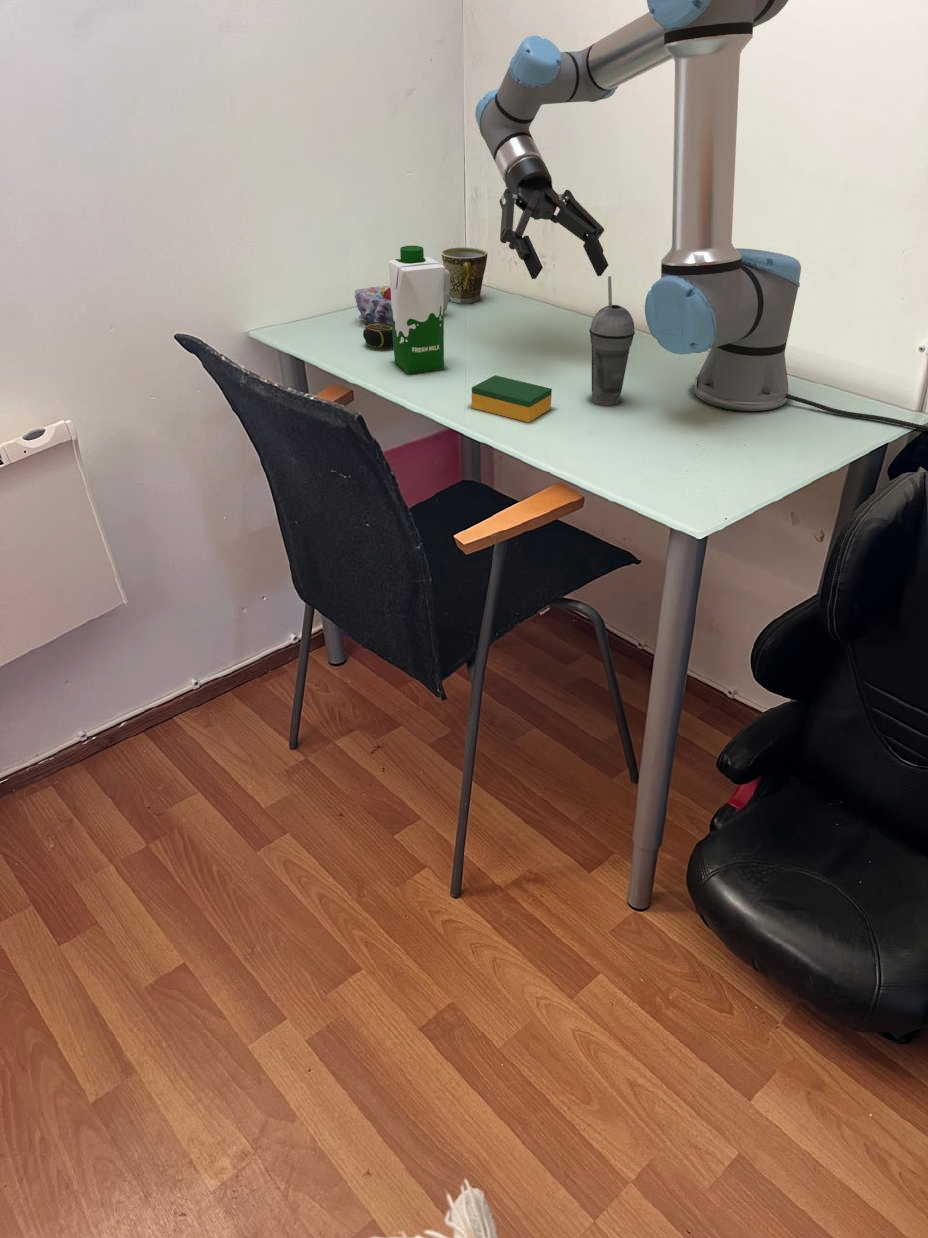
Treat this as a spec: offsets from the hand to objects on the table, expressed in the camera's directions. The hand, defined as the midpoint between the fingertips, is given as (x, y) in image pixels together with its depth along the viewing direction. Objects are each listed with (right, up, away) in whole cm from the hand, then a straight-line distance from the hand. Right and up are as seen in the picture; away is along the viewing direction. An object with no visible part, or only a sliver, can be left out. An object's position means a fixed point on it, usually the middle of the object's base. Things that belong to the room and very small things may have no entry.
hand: (571, 271), depth 153 cm
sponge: (-10, -23, -3) cm, 26 cm away
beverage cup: (+6, -22, 0) cm, 22 cm away
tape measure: (-34, -5, +24) cm, 42 cm away
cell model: (-31, +4, +38) cm, 49 cm away
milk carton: (-26, -12, +14) cm, 32 cm away
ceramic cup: (-18, +12, +49) cm, 54 cm away
